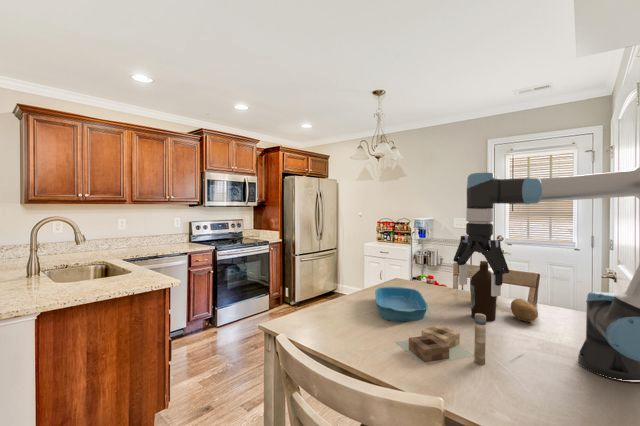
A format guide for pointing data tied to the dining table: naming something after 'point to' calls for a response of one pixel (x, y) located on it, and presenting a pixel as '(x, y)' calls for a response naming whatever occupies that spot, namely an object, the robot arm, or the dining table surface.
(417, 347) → the brown square wooden frame
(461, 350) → the pale green flat mat
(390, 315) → the casserole dish
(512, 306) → the potato
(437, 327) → the light wooden square frame
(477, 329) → the banded wooden cylinder
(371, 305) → the dining table surface
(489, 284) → the olive oil
